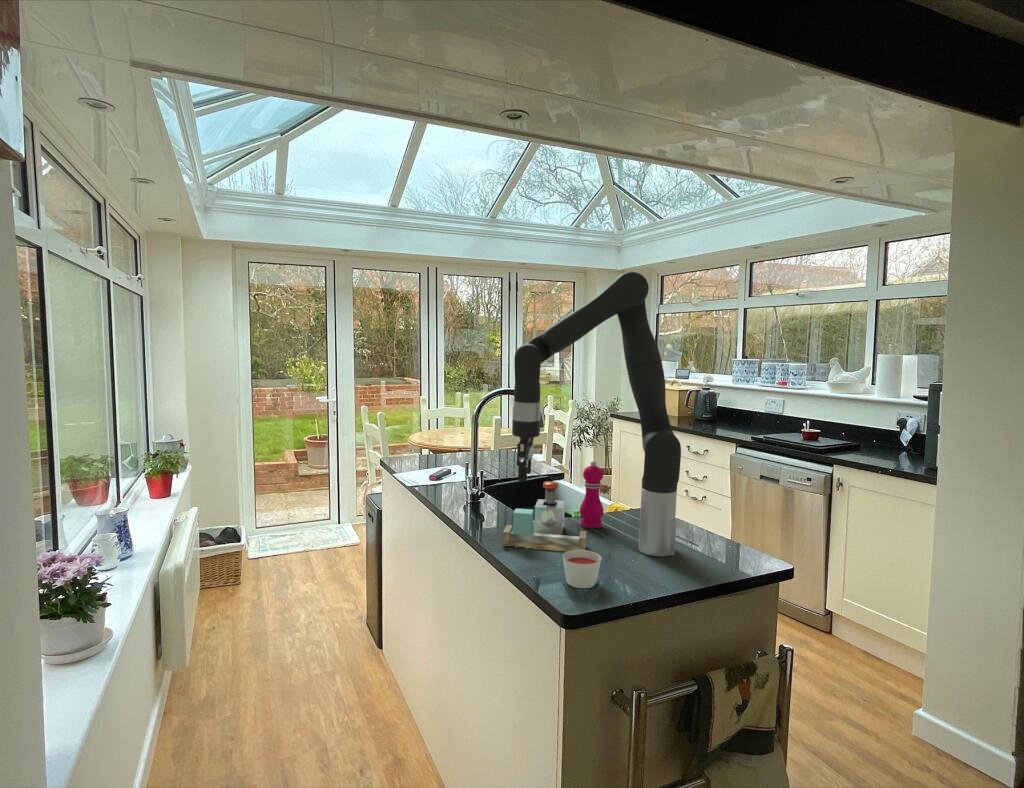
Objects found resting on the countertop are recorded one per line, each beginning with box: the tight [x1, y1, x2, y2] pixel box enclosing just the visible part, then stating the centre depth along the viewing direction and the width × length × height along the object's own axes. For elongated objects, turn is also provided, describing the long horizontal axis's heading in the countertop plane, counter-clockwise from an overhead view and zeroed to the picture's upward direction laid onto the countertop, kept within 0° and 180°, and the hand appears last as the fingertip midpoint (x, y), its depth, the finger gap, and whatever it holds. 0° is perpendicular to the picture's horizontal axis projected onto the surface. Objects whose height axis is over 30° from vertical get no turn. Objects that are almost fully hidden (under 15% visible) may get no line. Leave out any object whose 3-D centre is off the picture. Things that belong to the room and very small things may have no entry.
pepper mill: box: [579, 460, 604, 529], centre depth 182 cm, size 7×7×20 cm
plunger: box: [542, 480, 559, 506], centre depth 177 cm, size 4×4×9 cm
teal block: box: [512, 508, 535, 535], centre depth 165 cm, size 5×4×6 cm
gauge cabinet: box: [533, 498, 566, 535], centre depth 177 cm, size 8×8×8 cm
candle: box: [562, 549, 602, 589], centre depth 141 cm, size 9×9×6 cm
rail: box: [502, 524, 587, 552], centre depth 165 cm, size 22×6×4 cm, turn 81°
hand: (524, 477), depth 164 cm, fingers open, 8 cm apart
